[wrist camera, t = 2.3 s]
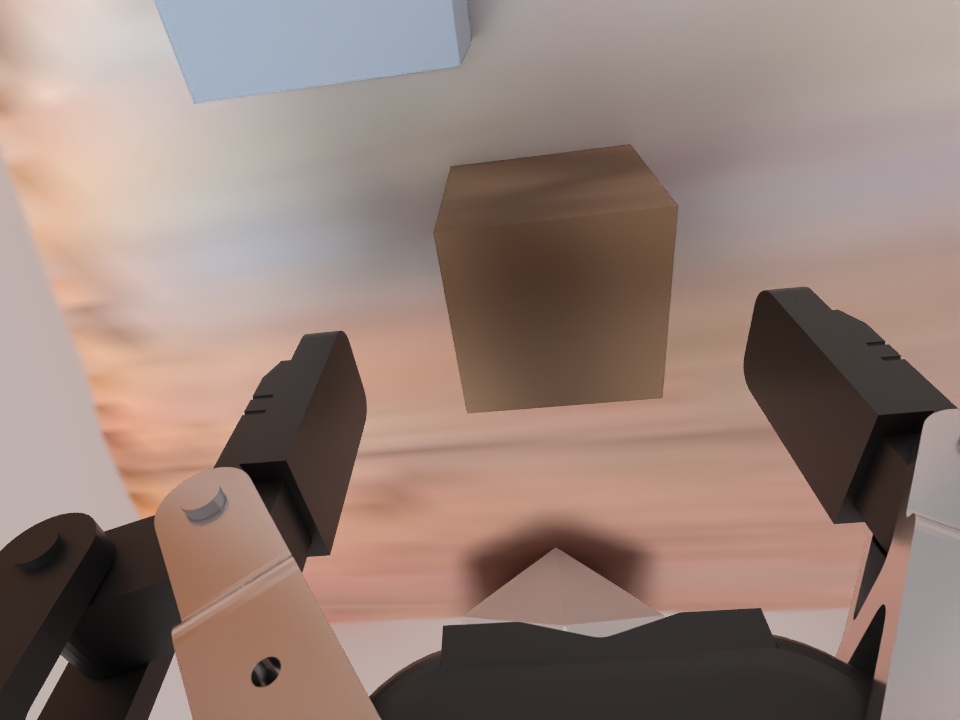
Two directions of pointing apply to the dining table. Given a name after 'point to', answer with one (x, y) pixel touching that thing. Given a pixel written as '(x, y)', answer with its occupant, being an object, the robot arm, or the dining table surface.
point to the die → (563, 600)
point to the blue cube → (309, 42)
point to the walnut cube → (557, 278)
